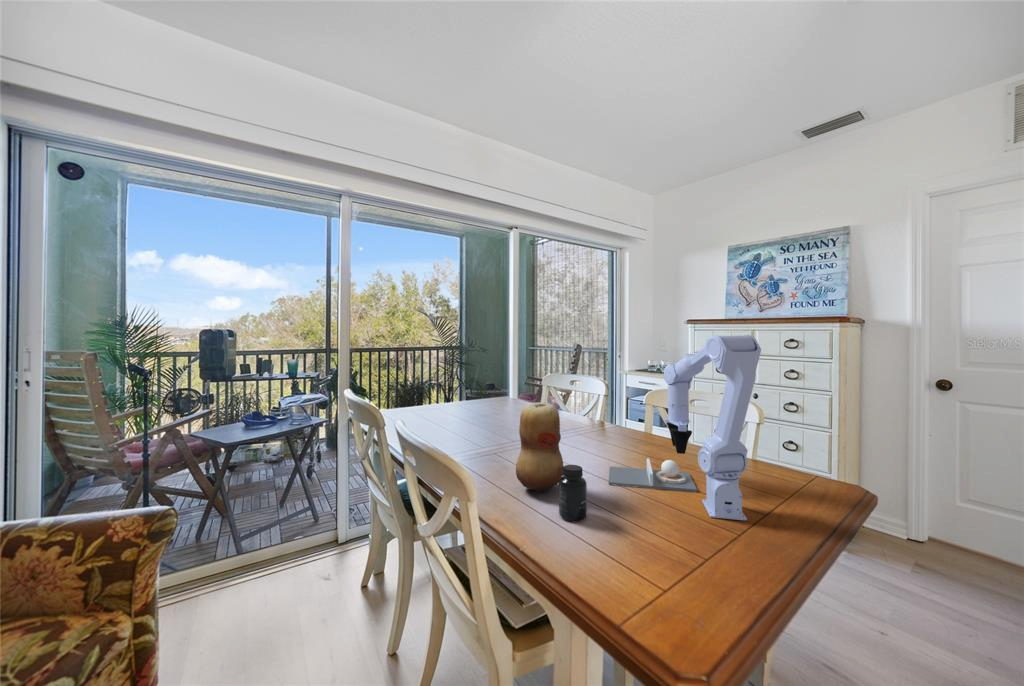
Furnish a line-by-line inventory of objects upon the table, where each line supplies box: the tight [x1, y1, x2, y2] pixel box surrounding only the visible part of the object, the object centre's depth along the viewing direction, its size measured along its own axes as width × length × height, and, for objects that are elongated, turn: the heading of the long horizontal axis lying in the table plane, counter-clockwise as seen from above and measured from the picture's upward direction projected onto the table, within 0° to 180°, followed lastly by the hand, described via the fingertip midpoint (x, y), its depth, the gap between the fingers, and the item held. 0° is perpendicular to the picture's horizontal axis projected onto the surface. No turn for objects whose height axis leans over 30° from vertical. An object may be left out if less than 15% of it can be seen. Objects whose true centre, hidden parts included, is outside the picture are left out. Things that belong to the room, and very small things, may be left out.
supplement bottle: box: [558, 464, 588, 523], centre depth 94 cm, size 7×7×12 cm
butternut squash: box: [515, 401, 564, 492], centre depth 111 cm, size 14×13×25 cm
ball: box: [660, 459, 680, 477], centre depth 116 cm, size 5×5×5 cm
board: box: [608, 458, 698, 493], centre depth 117 cm, size 14×24×4 cm, turn 74°
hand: (678, 449), depth 116 cm, fingers open, 7 cm apart
